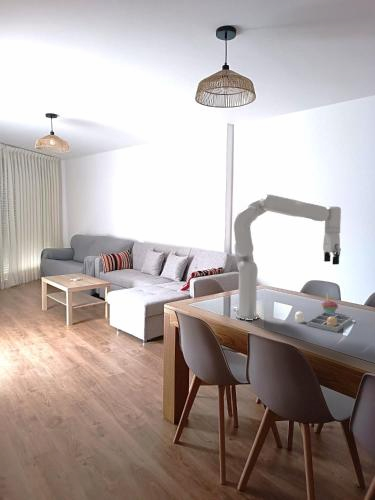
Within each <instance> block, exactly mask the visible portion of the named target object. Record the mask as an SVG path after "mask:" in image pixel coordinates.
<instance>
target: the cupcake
mask: <svg viewBox="0 0 375 500" xmlns="http://www.w3.org/2000/svg"><path fill="white" fill-rule="evenodd" d="M321 308H322V309H323V312H327V313H332V314H336V313H335V312H336V310H338V309H339V305H338V303H336V302H335V301H333V300H332V301H331V300H329V294H328V293H326V301H323V302H322V303H321Z"/></svg>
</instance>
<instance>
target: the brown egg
mask: <svg viewBox="0 0 375 500" xmlns="http://www.w3.org/2000/svg"><path fill="white" fill-rule="evenodd" d="M327 326H332V327H337V320H336V318H335V317H332V316H331V317H329V318H328V319H327Z"/></svg>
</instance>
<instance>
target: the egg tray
mask: <svg viewBox="0 0 375 500" xmlns="http://www.w3.org/2000/svg"><path fill="white" fill-rule="evenodd" d="M331 316H332V317H335V318H336V320H337V327H332V326H327V319H328V318H329V317H331ZM352 322H353V317H352V316H349V315H348V316H347V315H342V314H338V313H337V314H336V313H334V314H332V313H327V312H324V311H323V312H321V313H320V314H318V315H316V316H315V317H314V316H313V318H310V319H309V320H307V321H306V327H311V328H316V329H319V330H325V331H331V332H334V333H338V332H339V331H341V330H342V329H343V328H345V327H346V326H347V325H350V323H352Z"/></svg>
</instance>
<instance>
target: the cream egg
mask: <svg viewBox="0 0 375 500" xmlns="http://www.w3.org/2000/svg"><path fill="white" fill-rule="evenodd" d="M294 322H295V323H297V324H299V323H300V324H303V323H305V314H304V313H303V312H302V311H296V312H295V314H294Z"/></svg>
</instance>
